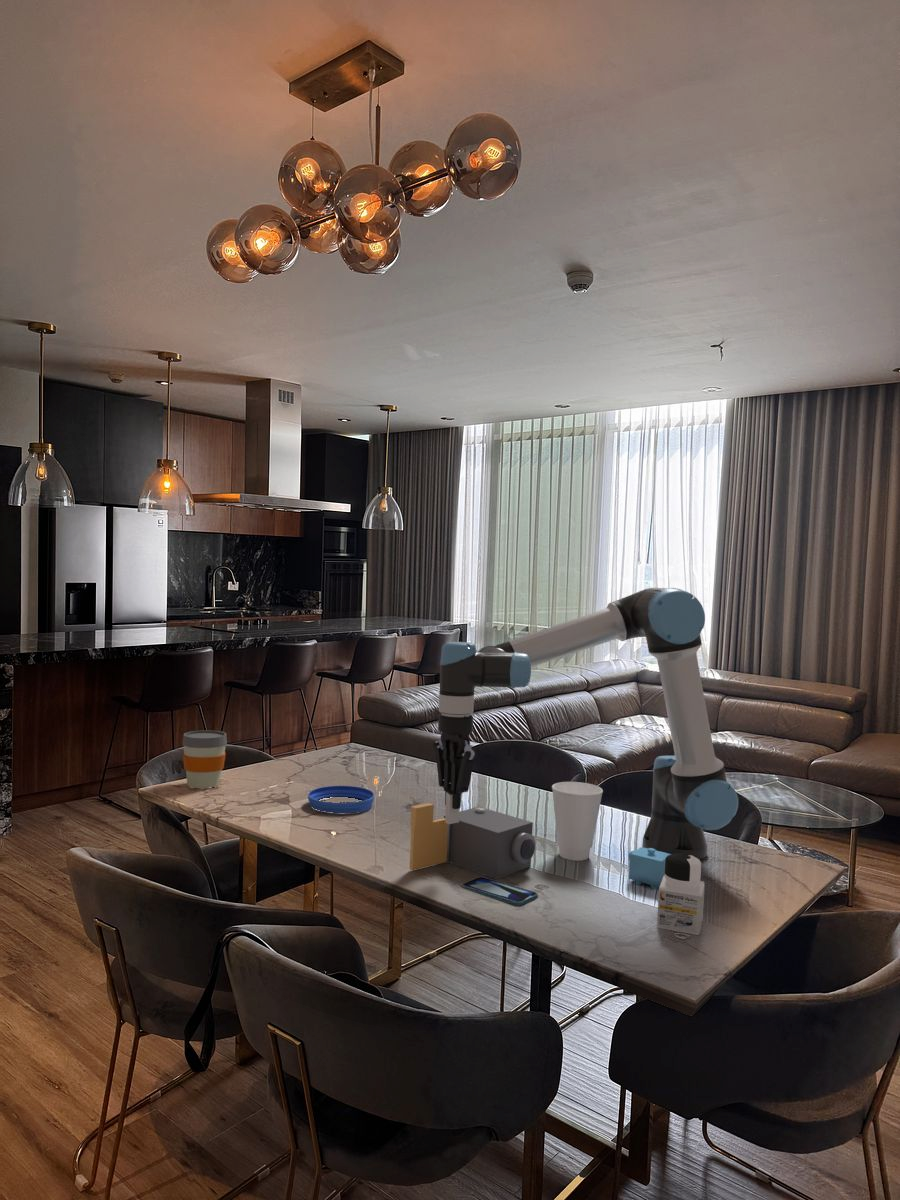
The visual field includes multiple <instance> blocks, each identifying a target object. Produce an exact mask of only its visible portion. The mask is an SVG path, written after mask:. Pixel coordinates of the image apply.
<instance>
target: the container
mask: <svg viewBox="0 0 900 1200" xmlns="http://www.w3.org/2000/svg"><path fill="white" fill-rule="evenodd" d="M701 870H702V862H701V860H699V859H698V858H696V857H694V856H692V855H689V854H683V853H674V854H671V855H668V856H667V857H666V859H665V875H664V876H663V879H662V882H661V884H660V887H658V897H657V898H658V899H657V917H656V918H657V919H656V926H657V928H658V929H662V930H668V931H674V932H679V933H684V934H688V935H689V934H690V935H695V936H699V935H700V934H701V930H702V925H703V924H702V923H703V918H704V916H703V915H704V901H705V899H704V898H705V881H703V880H701V875H702V874H701V873H702V871H701Z"/></svg>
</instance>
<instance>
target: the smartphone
mask: <svg viewBox="0 0 900 1200" xmlns="http://www.w3.org/2000/svg"><path fill="white" fill-rule="evenodd" d="M461 887H462V888H463V889H467V890H470V891H472V892H476V893H478V894H480V895H484V896H486V897H490V898H493V899H496V900H499V901H501V902H504V903H507V904H511V905H513V906H518V907H519V906H523V905H525V904H527V903H529V902H531V901H534V900H535V899H537V898H538V897H539V896H538V895H539V894H538V892H536V891H532V890H529V889H527V888H522V887H520V886H515V885H513V884H509V883H505V882H502V881H499V880H497V879H493V878H490V877H489V878H488V877H485V876H478V877H475V878H473V879H470V880H468V881H465V882H463V883H461Z"/></svg>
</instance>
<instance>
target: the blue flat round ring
mask: <svg viewBox="0 0 900 1200" xmlns="http://www.w3.org/2000/svg"><path fill="white" fill-rule="evenodd" d="M330 797H348V798H355V799H358V800H362V801H359V802H346V803H345V802H343V803H342V802H340V803H332V802H323V800H321V801H319V800H320V799H323V798H330ZM307 799H308V802H309V807H310V806H311V807H313V808H314V809H317V810H320V811H326V812H333V813H355V814H358V813H357V812H361V813H364V812H367V811H369V810H370V809H371V808H372V807H373V804H374V803H373V802H374V800H375V793H374V792H373V791H372V790H370V789H368V788H364V787H360V786H353V785H329V786H321V787H318V788H315V789H312V790H310V791H309V792H308V795H307ZM311 807H310V808H311ZM363 811H364V812H363Z"/></svg>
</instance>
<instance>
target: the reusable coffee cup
mask: <svg viewBox="0 0 900 1200" xmlns="http://www.w3.org/2000/svg"><path fill="white" fill-rule="evenodd" d="M227 737H228V736H227V733H226V732H224V731H220V730H210V729H209V730H208V729H206V730H192V731H187V732H184V734H183V738H182V746H183V753H182V759H183V769H184V770H185V774H186V783H187V784H186V785H188V786H189V787H193V788H209V787H215V786H218V785H219V786H220V781H221V777H222V776H221V775H222V770H223V769H224V767H225V761H226V755H227V754H226V747H227V744H228V740H227ZM188 786H187V787H188ZM219 786H218V787H219ZM189 787H188V788H189ZM193 788H192V789H193ZM215 788H216V787H215Z"/></svg>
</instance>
